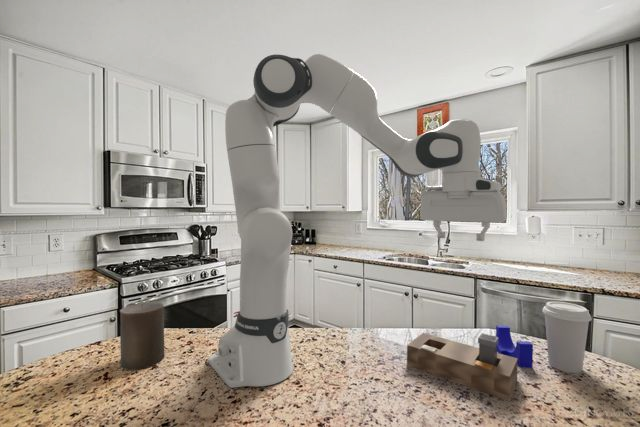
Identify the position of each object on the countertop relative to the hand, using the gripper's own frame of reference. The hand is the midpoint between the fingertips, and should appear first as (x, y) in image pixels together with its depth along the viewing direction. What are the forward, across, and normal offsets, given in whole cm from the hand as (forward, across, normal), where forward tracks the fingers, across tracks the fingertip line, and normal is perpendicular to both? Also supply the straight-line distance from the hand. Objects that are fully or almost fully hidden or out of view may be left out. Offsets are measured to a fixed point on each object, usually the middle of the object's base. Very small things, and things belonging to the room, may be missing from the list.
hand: (460, 239), depth 79 cm
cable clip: (+32, +10, +12) cm, 35 cm away
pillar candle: (+31, -61, -53) cm, 87 cm away
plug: (+30, +8, -6) cm, 32 cm away
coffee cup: (+31, +21, +14) cm, 40 cm away
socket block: (+31, +2, -6) cm, 32 cm away
